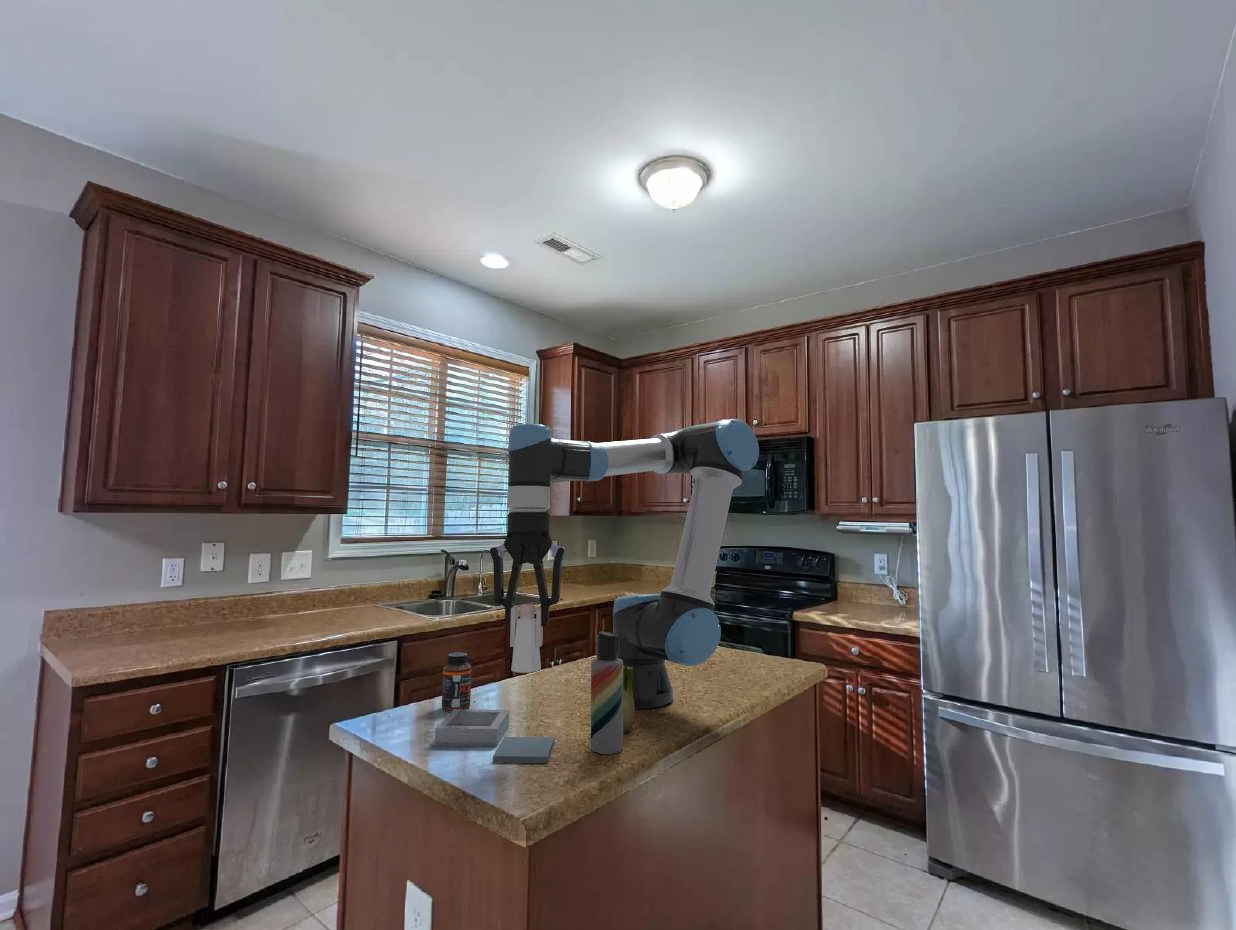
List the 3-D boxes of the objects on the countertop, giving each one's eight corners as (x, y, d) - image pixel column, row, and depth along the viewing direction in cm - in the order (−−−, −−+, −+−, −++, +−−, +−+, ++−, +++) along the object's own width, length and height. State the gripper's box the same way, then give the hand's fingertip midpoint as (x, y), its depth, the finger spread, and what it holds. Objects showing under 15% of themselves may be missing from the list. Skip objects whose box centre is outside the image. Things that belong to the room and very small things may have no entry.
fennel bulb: (602, 735, 112) (603, 669, 113) (605, 726, 117) (605, 663, 118) (634, 736, 112) (634, 670, 113) (635, 727, 117) (635, 663, 118)
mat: (554, 743, 108) (554, 737, 108) (547, 763, 99) (547, 756, 99) (504, 742, 108) (504, 736, 109) (493, 762, 99) (493, 756, 100)
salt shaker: (516, 674, 101) (517, 607, 103) (506, 667, 106) (507, 604, 107) (546, 670, 104) (547, 605, 105) (535, 664, 109) (536, 602, 110)
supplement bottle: (462, 713, 125) (464, 657, 126) (436, 712, 126) (437, 656, 127) (475, 705, 131) (476, 651, 132) (449, 703, 132) (451, 650, 133)
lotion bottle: (589, 743, 108) (590, 629, 110) (621, 742, 109) (621, 629, 110) (591, 755, 102) (591, 635, 104) (624, 754, 103) (624, 634, 105)
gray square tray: (509, 725, 117) (509, 709, 118) (496, 746, 106) (496, 728, 107) (453, 725, 118) (453, 709, 118) (434, 745, 107) (435, 728, 107)
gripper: (577, 511, 111) (576, 641, 109) (486, 511, 112) (484, 640, 110) (573, 510, 104) (572, 650, 102) (476, 510, 104) (473, 649, 102)
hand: (526, 644), depth 106 cm, fingers closed on salt shaker, 4 cm apart
